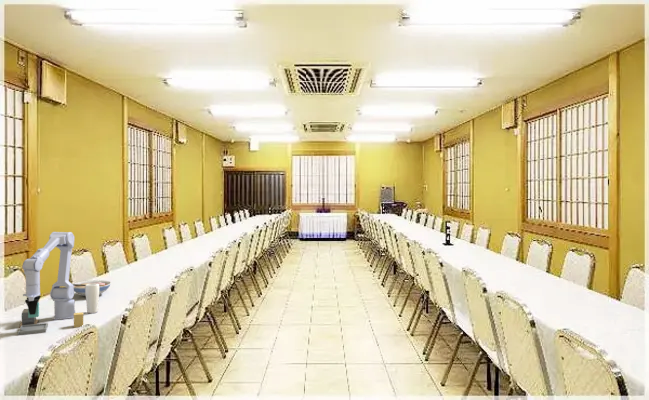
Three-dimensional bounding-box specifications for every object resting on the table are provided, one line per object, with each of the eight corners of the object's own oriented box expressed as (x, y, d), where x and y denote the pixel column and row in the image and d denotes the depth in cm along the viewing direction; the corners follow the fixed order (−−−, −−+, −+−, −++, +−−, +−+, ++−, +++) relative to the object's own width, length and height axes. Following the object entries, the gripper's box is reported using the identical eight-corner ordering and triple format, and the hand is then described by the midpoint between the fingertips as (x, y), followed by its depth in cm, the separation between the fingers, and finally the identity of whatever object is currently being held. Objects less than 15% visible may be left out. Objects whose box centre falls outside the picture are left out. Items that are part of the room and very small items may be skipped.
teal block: (39, 314, 234) (39, 302, 233) (38, 316, 230) (38, 304, 230) (29, 315, 232) (29, 303, 232) (28, 317, 228) (28, 304, 228)
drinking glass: (101, 310, 268) (101, 283, 267) (96, 314, 261) (96, 285, 261) (88, 310, 268) (88, 283, 267) (83, 314, 261) (83, 285, 260)
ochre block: (83, 324, 242) (83, 312, 242) (83, 326, 238) (83, 314, 238) (74, 325, 240) (74, 313, 240) (73, 327, 236) (73, 315, 236)
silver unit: (38, 321, 247) (38, 307, 247) (36, 326, 238) (36, 311, 237) (22, 322, 244) (21, 308, 244) (19, 328, 235) (19, 313, 235)
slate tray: (47, 326, 238) (47, 322, 238) (45, 332, 228) (45, 329, 228) (21, 328, 234) (21, 325, 234) (17, 335, 224) (17, 331, 224)
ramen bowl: (120, 292, 314) (119, 279, 314) (100, 300, 291) (100, 286, 291) (82, 291, 316) (82, 278, 316) (60, 299, 294) (60, 285, 293)
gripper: (24, 282, 235) (25, 310, 236) (20, 287, 222) (21, 317, 223) (41, 281, 238) (42, 308, 239) (38, 286, 225) (39, 316, 226)
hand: (33, 313), depth 231 cm, fingers closed on teal block, 4 cm apart
